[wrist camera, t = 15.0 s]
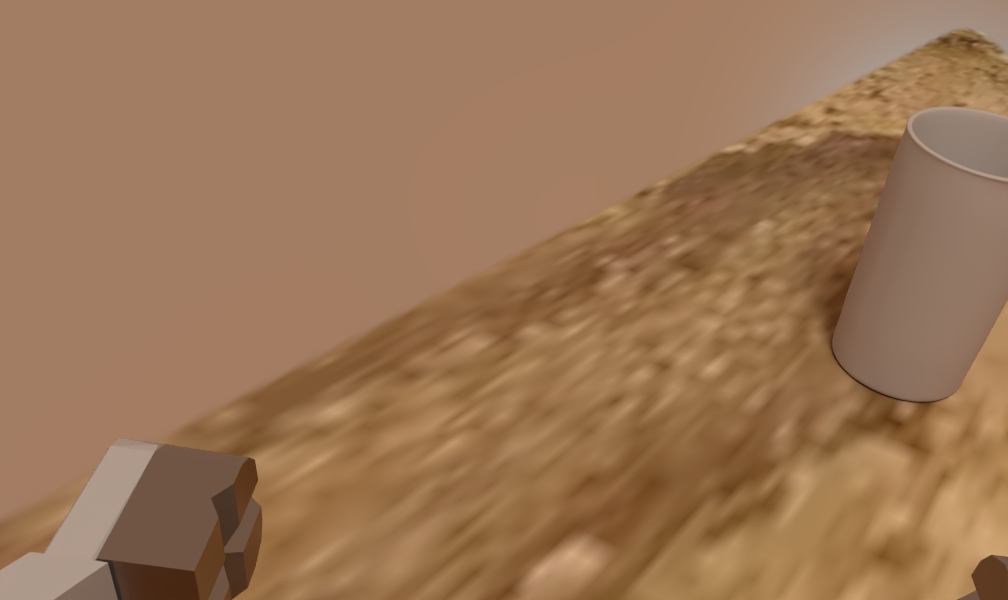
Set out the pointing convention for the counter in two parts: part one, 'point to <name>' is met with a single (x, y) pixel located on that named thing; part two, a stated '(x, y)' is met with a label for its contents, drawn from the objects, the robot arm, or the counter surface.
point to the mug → (931, 259)
